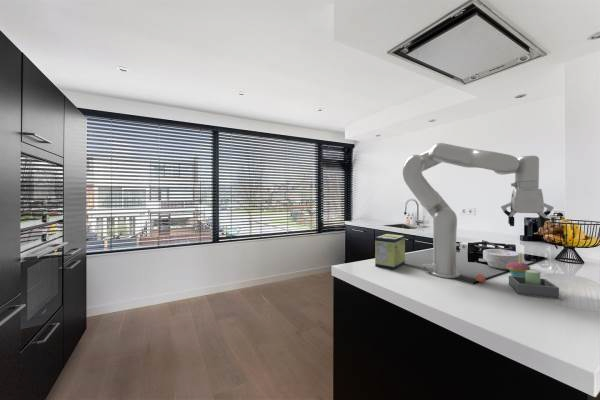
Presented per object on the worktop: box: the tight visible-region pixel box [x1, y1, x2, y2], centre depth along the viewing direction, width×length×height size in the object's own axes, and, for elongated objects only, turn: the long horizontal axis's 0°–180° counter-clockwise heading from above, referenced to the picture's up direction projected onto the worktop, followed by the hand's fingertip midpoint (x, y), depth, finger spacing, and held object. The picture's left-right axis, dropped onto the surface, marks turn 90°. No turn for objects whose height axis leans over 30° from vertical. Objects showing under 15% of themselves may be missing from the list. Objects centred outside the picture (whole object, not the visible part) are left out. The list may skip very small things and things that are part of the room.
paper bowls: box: [482, 248, 521, 270], centre depth 136 cm, size 15×15×8 cm
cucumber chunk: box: [525, 269, 541, 285], centre depth 104 cm, size 4×4×7 cm
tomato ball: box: [475, 273, 486, 283], centre depth 114 cm, size 4×4×4 cm
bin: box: [508, 275, 560, 300], centre depth 104 cm, size 12×11×4 cm
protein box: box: [374, 233, 406, 270], centre depth 143 cm, size 10×16×16 cm
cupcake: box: [506, 253, 531, 277], centre depth 120 cm, size 9×8×12 cm
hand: (526, 226), depth 112 cm, fingers open, 9 cm apart
